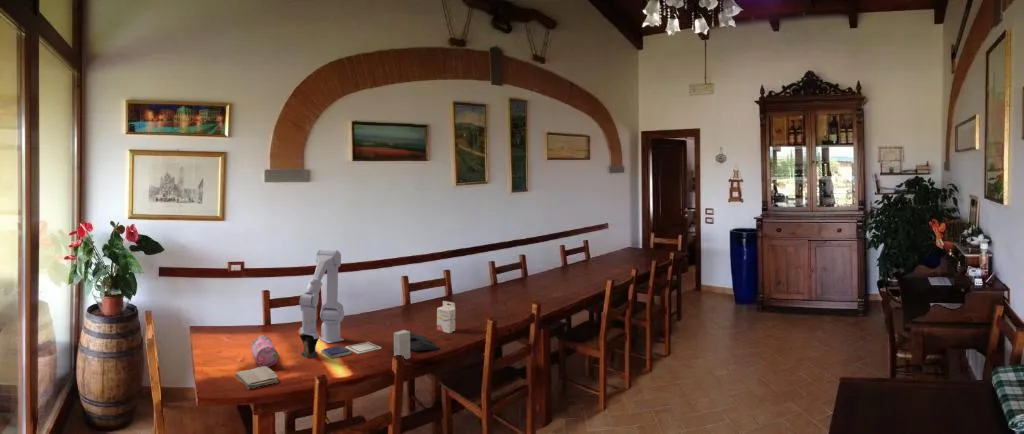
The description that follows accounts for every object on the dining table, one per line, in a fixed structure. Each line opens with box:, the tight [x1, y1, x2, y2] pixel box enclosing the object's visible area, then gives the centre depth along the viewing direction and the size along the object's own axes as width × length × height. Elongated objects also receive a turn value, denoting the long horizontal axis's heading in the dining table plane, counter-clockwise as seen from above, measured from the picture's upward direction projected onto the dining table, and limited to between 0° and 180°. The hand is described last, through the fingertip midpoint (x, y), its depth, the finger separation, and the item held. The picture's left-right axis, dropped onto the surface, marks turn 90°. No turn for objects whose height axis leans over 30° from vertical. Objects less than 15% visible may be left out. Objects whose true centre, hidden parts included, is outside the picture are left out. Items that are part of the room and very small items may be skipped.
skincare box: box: [393, 329, 411, 360], centre depth 260 cm, size 6×4×12 cm
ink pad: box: [321, 345, 352, 359], centre depth 266 cm, size 10×9×2 cm
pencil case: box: [250, 335, 279, 368], centre depth 254 cm, size 21×9×9 cm, turn 28°
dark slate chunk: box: [410, 332, 441, 352], centre depth 280 cm, size 15×22×5 cm
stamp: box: [301, 341, 319, 359], centre depth 262 cm, size 5×5×6 cm
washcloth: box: [235, 366, 279, 390], centre depth 233 cm, size 12×18×3 cm, turn 41°
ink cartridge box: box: [436, 300, 456, 334], centre depth 304 cm, size 9×5×15 cm, turn 58°
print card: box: [344, 341, 382, 355], centre depth 274 cm, size 12×12×1 cm
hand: (309, 351), depth 262 cm, fingers closed on stamp, 4 cm apart
